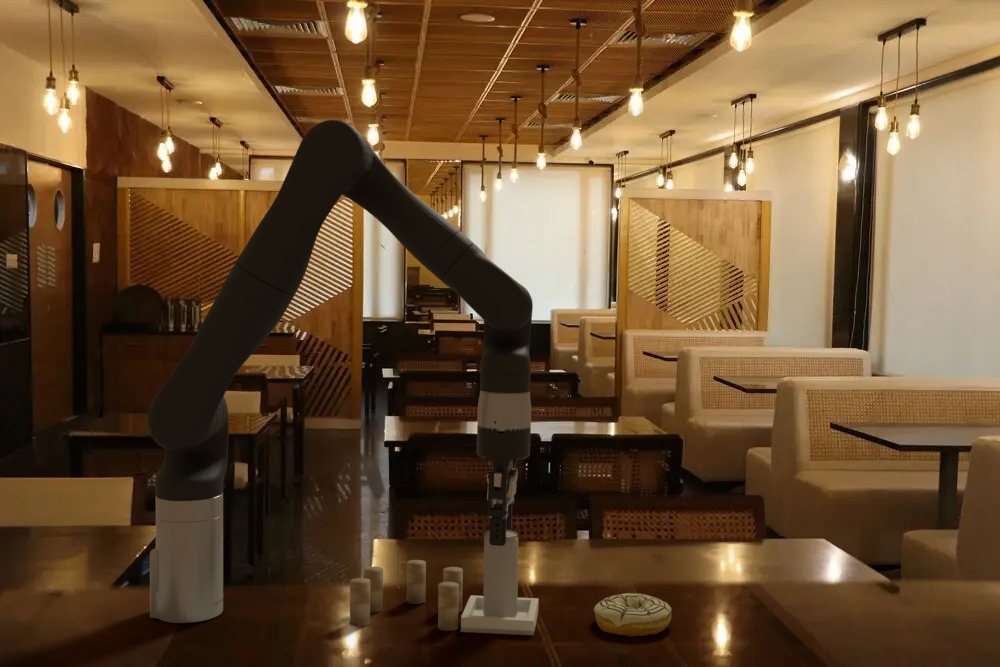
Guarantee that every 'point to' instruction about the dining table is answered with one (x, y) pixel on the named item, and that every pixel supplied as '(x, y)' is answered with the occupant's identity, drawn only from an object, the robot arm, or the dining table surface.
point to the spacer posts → (370, 594)
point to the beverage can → (501, 577)
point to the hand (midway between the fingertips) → (500, 537)
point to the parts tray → (500, 618)
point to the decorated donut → (632, 614)
